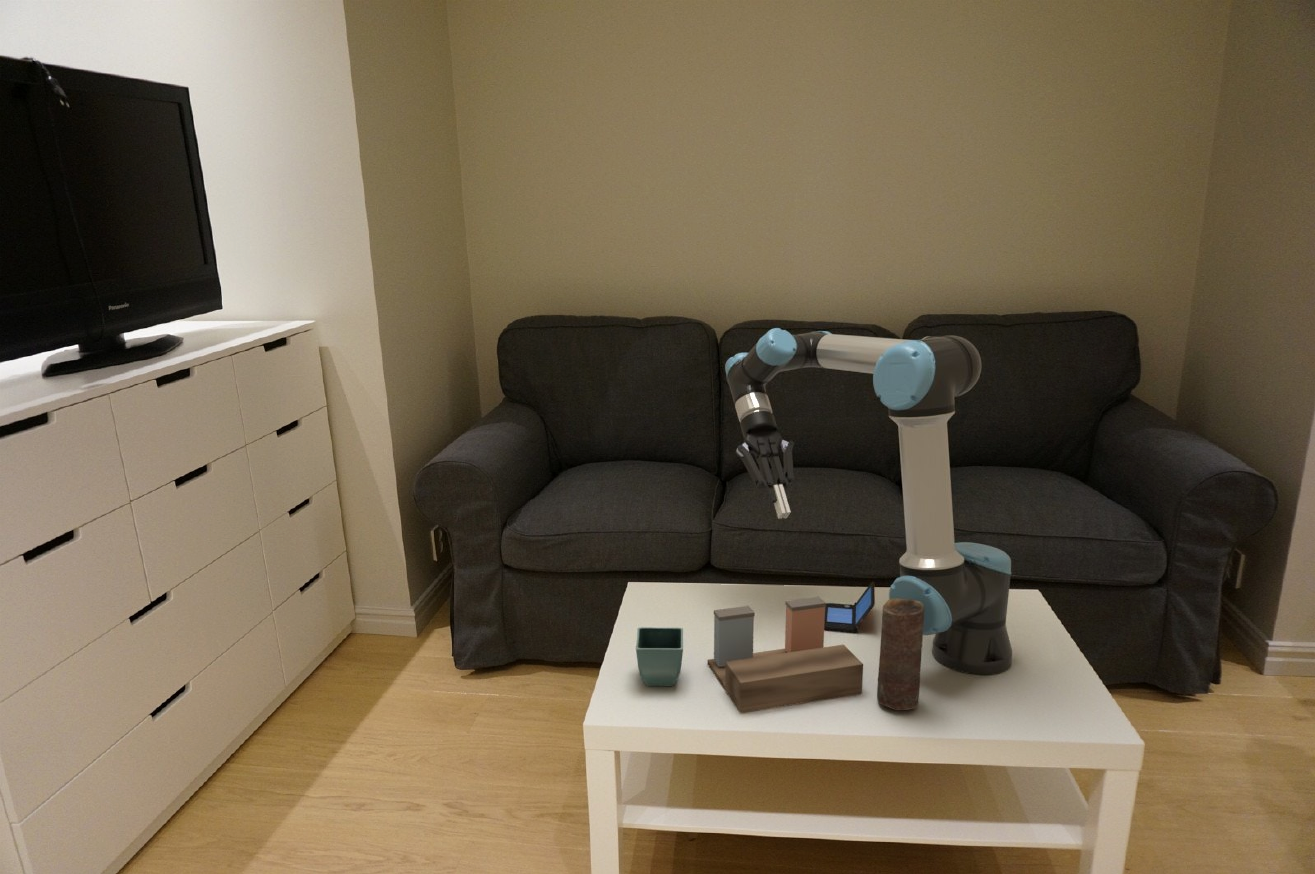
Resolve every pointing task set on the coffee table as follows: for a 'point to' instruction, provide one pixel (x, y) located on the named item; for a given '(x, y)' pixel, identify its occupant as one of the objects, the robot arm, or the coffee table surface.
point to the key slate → (733, 634)
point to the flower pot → (659, 655)
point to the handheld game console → (849, 613)
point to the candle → (900, 654)
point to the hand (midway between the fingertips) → (784, 515)
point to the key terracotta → (804, 624)
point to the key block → (790, 677)
